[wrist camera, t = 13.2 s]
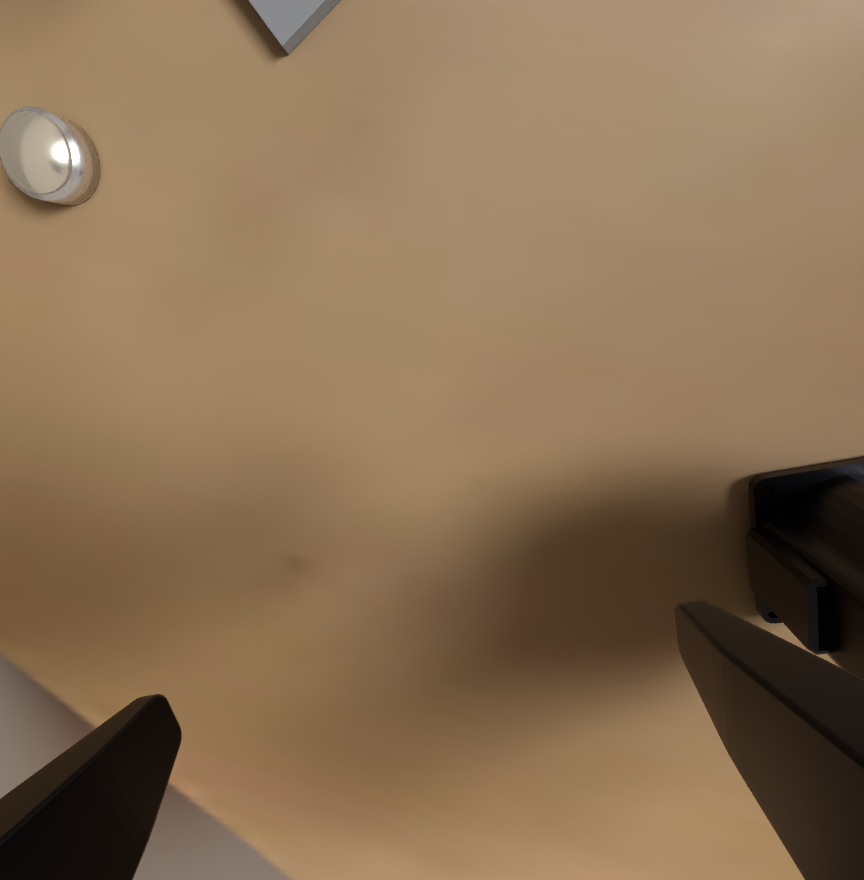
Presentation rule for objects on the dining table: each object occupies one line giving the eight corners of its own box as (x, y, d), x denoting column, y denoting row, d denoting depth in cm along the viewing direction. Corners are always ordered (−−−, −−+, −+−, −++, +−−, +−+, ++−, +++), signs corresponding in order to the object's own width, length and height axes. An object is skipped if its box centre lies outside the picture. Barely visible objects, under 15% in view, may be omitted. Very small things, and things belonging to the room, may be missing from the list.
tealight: (80, 107, 18) (51, 93, 17) (112, 193, 19) (86, 187, 18) (12, 130, 19) (-21, 118, 18) (45, 214, 20) (15, 208, 18)
